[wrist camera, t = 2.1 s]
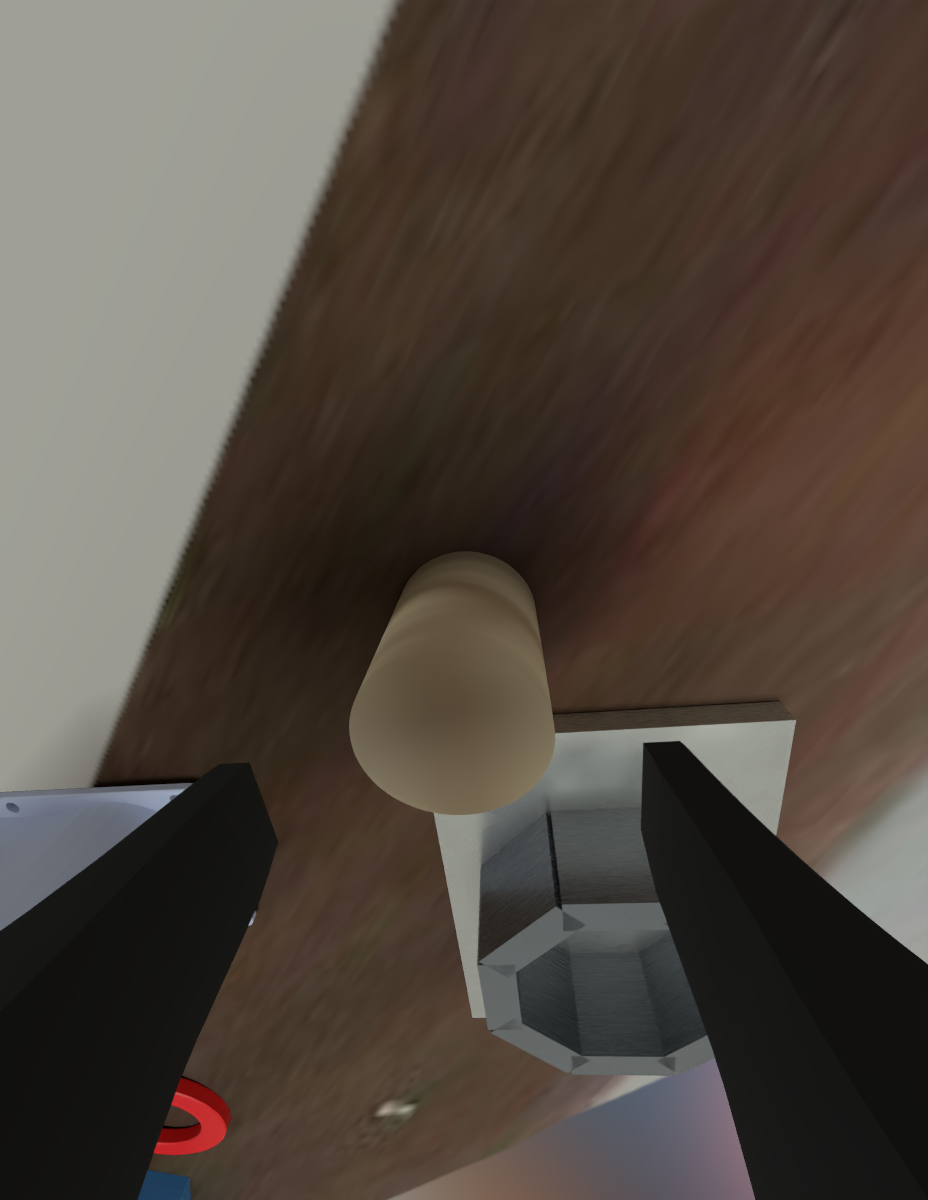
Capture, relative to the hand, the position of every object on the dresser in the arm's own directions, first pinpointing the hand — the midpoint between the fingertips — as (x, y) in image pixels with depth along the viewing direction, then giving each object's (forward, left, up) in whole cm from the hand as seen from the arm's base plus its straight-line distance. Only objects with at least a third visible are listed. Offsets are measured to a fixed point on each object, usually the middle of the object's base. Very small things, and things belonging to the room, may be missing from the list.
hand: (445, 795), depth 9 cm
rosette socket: (+4, -12, -8) cm, 15 cm away
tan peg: (0, 0, -8) cm, 8 cm away
